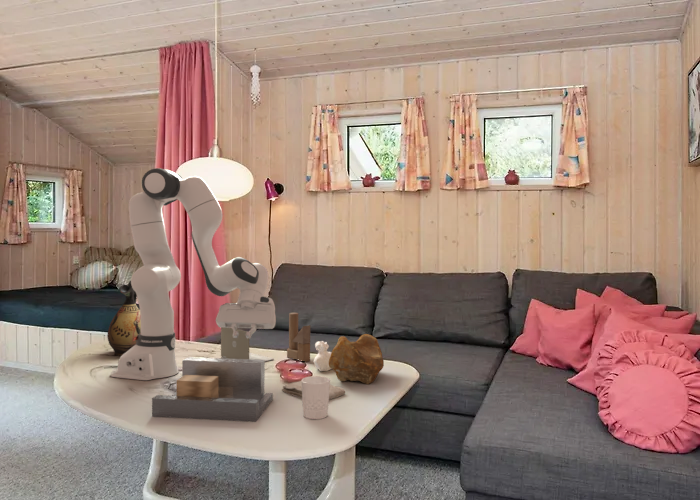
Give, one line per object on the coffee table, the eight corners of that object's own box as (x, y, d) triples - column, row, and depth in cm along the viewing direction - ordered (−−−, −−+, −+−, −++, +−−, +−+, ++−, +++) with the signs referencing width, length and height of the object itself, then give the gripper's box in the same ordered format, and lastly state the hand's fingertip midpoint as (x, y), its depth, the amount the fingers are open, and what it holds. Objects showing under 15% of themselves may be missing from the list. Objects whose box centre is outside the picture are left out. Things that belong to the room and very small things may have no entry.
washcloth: (304, 385, 183) (305, 376, 183) (347, 395, 172) (347, 386, 172) (279, 393, 174) (279, 383, 174) (322, 405, 163) (322, 394, 163)
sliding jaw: (182, 400, 164) (182, 360, 164) (187, 395, 168) (187, 357, 168) (260, 403, 162) (261, 363, 161) (264, 399, 166) (264, 359, 165)
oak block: (176, 412, 154) (176, 380, 153) (185, 405, 160) (185, 374, 159) (211, 413, 153) (211, 381, 152) (218, 406, 159) (218, 376, 158)
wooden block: (302, 362, 212) (303, 316, 211) (286, 357, 220) (287, 312, 219) (310, 361, 214) (311, 315, 213) (294, 356, 222) (294, 312, 221)
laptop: (274, 360, 215) (274, 327, 215) (248, 366, 206) (248, 331, 205) (246, 353, 227) (246, 321, 227) (220, 358, 218) (220, 325, 217)
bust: (332, 371, 208) (317, 345, 211) (345, 361, 205) (330, 335, 208) (314, 378, 198) (298, 351, 201) (328, 368, 194) (312, 340, 198)
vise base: (152, 416, 150) (152, 398, 150) (180, 395, 169) (180, 379, 169) (255, 421, 147) (256, 403, 147) (272, 399, 166) (272, 383, 166)
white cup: (301, 410, 156) (301, 376, 156) (328, 410, 157) (329, 375, 156) (301, 420, 148) (301, 384, 148) (330, 420, 149) (330, 383, 149)
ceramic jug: (139, 358, 215) (139, 282, 214) (100, 357, 215) (100, 281, 214) (155, 348, 232) (155, 278, 231) (119, 348, 232) (119, 277, 231)
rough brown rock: (360, 394, 175) (365, 348, 174) (320, 380, 185) (324, 337, 184) (398, 380, 194) (403, 339, 193) (360, 369, 204) (364, 329, 203)
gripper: (219, 297, 191) (208, 330, 181) (276, 299, 188) (269, 332, 179) (223, 308, 195) (213, 341, 186) (279, 310, 193) (272, 343, 184)
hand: (241, 337), depth 182 cm, fingers open, 3 cm apart
